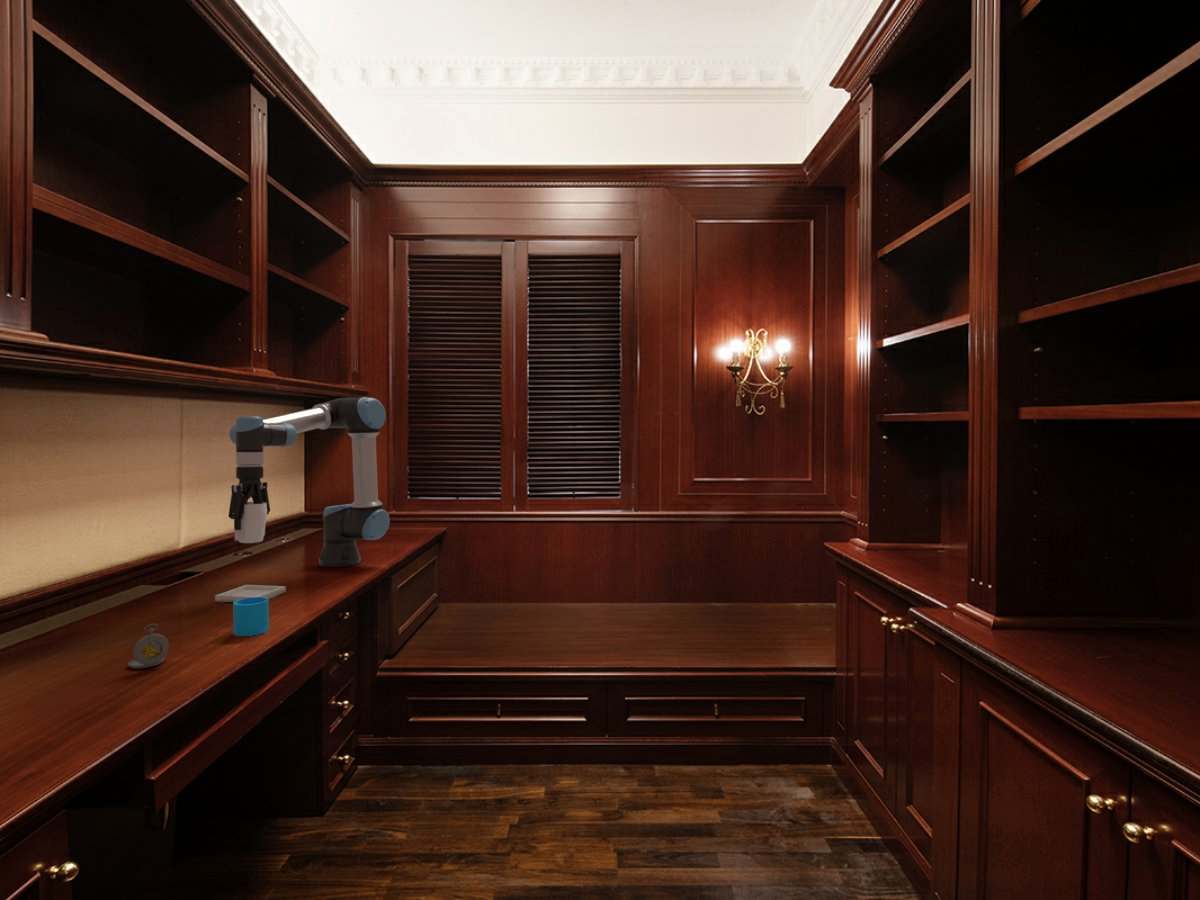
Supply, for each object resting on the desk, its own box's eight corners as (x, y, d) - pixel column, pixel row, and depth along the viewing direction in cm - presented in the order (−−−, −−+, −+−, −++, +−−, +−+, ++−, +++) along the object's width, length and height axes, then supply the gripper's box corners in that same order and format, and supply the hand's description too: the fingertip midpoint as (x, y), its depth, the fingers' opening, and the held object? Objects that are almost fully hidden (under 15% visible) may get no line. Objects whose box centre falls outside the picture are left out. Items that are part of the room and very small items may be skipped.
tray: (246, 590, 214) (246, 584, 214) (285, 592, 212) (285, 586, 212) (215, 602, 200) (215, 595, 200) (257, 603, 198) (257, 597, 198)
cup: (253, 544, 200) (253, 505, 200) (227, 543, 202) (227, 504, 202) (273, 539, 209) (273, 502, 209) (249, 538, 211) (248, 501, 210)
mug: (258, 637, 167) (258, 605, 167) (226, 636, 167) (226, 605, 167) (282, 623, 179) (281, 593, 179) (252, 623, 179) (251, 593, 179)
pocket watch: (144, 659, 151) (143, 615, 151) (178, 660, 150) (177, 617, 150) (114, 672, 143) (113, 626, 142) (150, 673, 142) (149, 627, 142)
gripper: (261, 464, 216) (261, 532, 217) (213, 467, 195) (214, 543, 195) (282, 464, 215) (282, 533, 216) (236, 467, 194) (237, 544, 194)
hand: (250, 537), depth 205 cm, fingers closed on cup, 9 cm apart
